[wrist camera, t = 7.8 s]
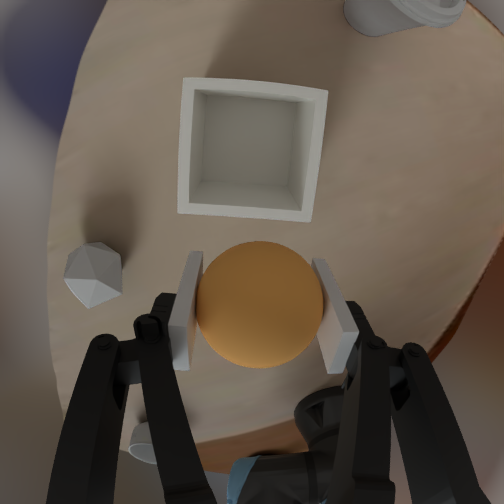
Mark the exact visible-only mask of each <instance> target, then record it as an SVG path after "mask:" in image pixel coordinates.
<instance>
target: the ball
mask: <svg viewBox="0 0 504 504" xmlns="http://www.w3.org/2000/svg"><path fill="white" fill-rule="evenodd" d="M322 315H323V294H322V289H321V286H320V283H319V280H318V278H317V276H316V274H315V272H314V270H313V269H312V268H311V266H310V265H309V264H308V263H307V262H306V261H305V260H304V259H303V258H302V257H301V256H300V255H299V254H297V253H296V252H294V251H293V250H291V249H289V248H287V247H285V246H283V245H280V244H277V243H273V242H265V241H254V242H247V243H243V244H239V245H237V246H234V247H232V248H230V249H228V250H226V251H225V252H223V253H222V254H220V255H219V256H218V257H217V258H216V259H215V260H214V261H213V262H212V263H211V264H210V265H209V266H208V268H207V269H206V271H205V273H204V274H203V276H202V278H201V280H200V283H199V286H198V289H197V294H196V316H197V321H198V324H199V327H200V330H201V332H202V334H203V336H204V337H205V339H206V340H207V342H208V343H209V345H210V346H211V347H212V348H213V349H214V350H215V351H216V352H217V353H218V354H220V355H221V356H222V357H224V358H225V359H227V360H229V361H231V362H233V363H235V364H237V365H240V366H244V367H250V368H269V367H274V366H278V365H281V364H284V363H286V362H288V361H290V360H292V359H294V358H295V357H297V356H298V355H299V354H300V353H301V352H303V351H304V350H305V349H306V348H307V347H308V345H309V344H310V343H311V341H312V340H313V339H314V337H315V335H316V334H317V331H318V329H319V326H320V324H321V320H322Z"/></svg>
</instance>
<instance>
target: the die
mask: <svg viewBox="0 0 504 504" xmlns="http://www.w3.org/2000/svg"><path fill="white" fill-rule="evenodd" d="M63 279H64V280H65V282H66V284H67V285H68V287H69V288H70V290H71V292H72V293H73V294H74V295H75V296H76V297H77V298H78V299H79V300H80V301H81V302H82V303H83V304H84V305H85V306H86V307H87V308H88V309H89V308H92V307H94V306H96V305H98V304H101V303H103V302H105V301H108V300H110V299H112V298H115V297H117V296H119V295H121V294H122V266H121V256H120V254H118V253H117V252H115V251H114V250H112V249H111V248H109V247H108V246H106V245H105V244H103V243H102V242H95V243H87V244H83V245H82V246H80V247H79V248H77V249H76V250H74V251H73V252H72V253H70V254H69V255H68V260H67V264H66V268H65V273H64V278H63Z"/></svg>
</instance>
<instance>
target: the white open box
mask: <svg viewBox="0 0 504 504" xmlns="http://www.w3.org/2000/svg"><path fill="white" fill-rule="evenodd" d="M327 99H328V90H322V89H317V88H311V87H304V86H297V85H290V84H283V83H274V82H265V81H254V80H241V79H224V78H183V89H182V102H181V118H180V136H179V160H178V213H180V214H199V215H215V216H231V217H246V218H260V219H273V220H286V221H298V222H309V223H311V217H312V211H313V205H314V198H315V192H316V185H317V178H318V171H319V164H320V157H321V149H322V142H323V134H324V126H325V117H326V108H327Z"/></svg>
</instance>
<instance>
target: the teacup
mask: <svg viewBox="0 0 504 504" xmlns="http://www.w3.org/2000/svg"><path fill="white" fill-rule="evenodd" d="M128 450H129V452H130V453H131V454H132V455H133V456H134V457H136V458H137V459H140V460H142V461H145V462H148V463H152V464H157V462H156V458H155V454H154V449H153V445H152V440H151V435H150V430H149V425H148V422H144V423H141V424H139V425H137V426H136V427H135V428H134V430H133V433H132V436H131V441H130V446H129V448H128Z"/></svg>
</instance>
